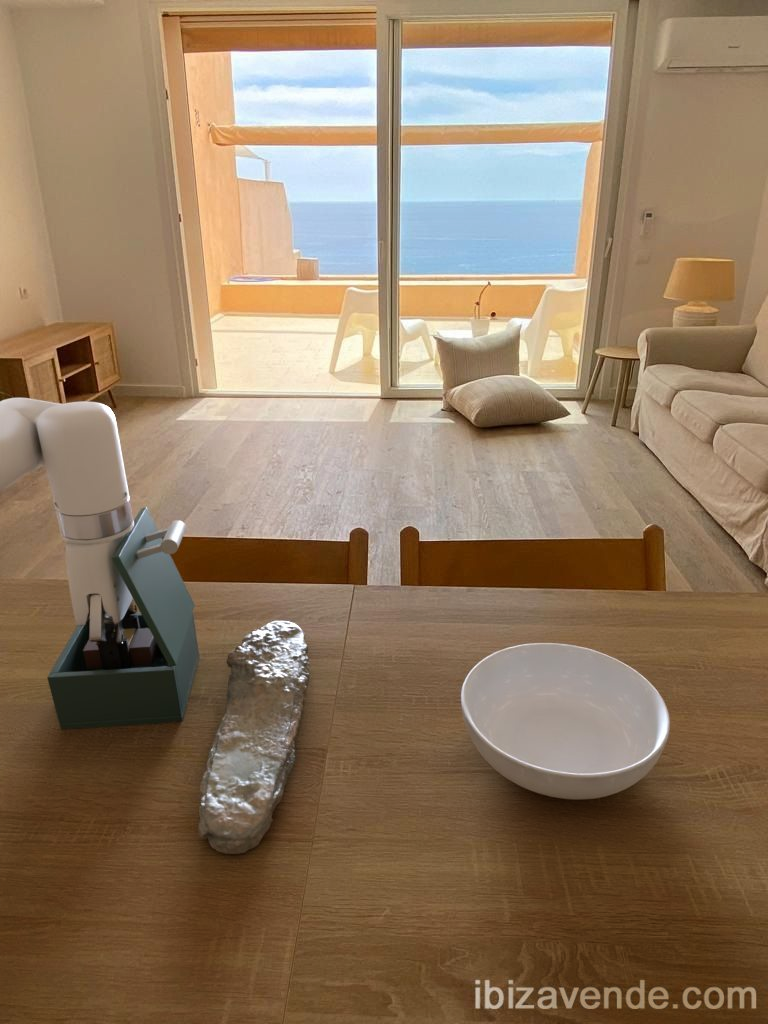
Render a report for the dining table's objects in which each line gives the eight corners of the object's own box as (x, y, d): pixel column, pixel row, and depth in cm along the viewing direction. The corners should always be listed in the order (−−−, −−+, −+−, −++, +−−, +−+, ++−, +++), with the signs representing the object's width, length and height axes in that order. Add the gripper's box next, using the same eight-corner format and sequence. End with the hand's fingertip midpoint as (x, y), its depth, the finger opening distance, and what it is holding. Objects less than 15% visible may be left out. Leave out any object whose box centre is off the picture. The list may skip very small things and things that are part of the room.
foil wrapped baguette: (175, 868, 64) (284, 871, 64) (169, 829, 61) (282, 833, 61) (244, 633, 95) (317, 636, 95) (242, 601, 92) (317, 604, 92)
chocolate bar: (86, 669, 81) (82, 650, 80) (97, 649, 84) (93, 630, 83) (152, 665, 81) (149, 646, 80) (159, 645, 85) (156, 627, 84)
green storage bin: (60, 729, 79) (47, 677, 76) (93, 662, 90) (82, 615, 87) (182, 721, 80) (173, 669, 77) (199, 656, 91) (192, 608, 88)
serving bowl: (497, 670, 88) (500, 624, 85) (673, 723, 78) (683, 673, 76) (427, 781, 71) (428, 729, 68) (640, 865, 62) (651, 808, 59)
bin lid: (111, 558, 71) (161, 543, 70) (140, 508, 82) (183, 495, 82) (169, 667, 77) (215, 653, 76) (189, 606, 88) (229, 594, 88)
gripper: (84, 489, 83) (110, 619, 90) (30, 555, 67) (68, 705, 75) (148, 487, 83) (169, 616, 91) (110, 551, 68) (139, 700, 75)
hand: (123, 655), depth 83 cm, fingers closed on chocolate bar, 4 cm apart
